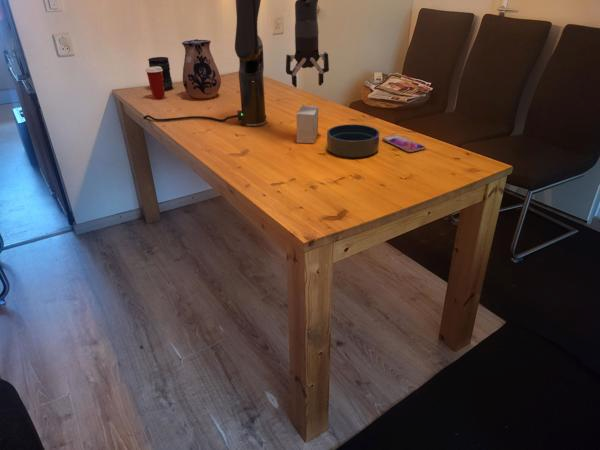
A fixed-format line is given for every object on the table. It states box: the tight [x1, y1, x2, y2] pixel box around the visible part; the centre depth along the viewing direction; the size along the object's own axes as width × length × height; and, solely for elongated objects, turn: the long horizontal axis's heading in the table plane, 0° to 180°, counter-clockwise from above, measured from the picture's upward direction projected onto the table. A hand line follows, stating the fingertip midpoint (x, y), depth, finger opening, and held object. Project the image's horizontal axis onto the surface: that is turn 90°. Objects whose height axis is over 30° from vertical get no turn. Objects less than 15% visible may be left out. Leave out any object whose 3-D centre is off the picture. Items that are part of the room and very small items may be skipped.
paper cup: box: [145, 66, 166, 101], centre depth 213 cm, size 8×8×14 cm
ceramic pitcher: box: [181, 38, 222, 100], centre depth 212 cm, size 18×21×25 cm
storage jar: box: [147, 56, 174, 92], centre depth 228 cm, size 10×10×15 cm
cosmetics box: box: [296, 105, 319, 144], centre depth 160 cm, size 10×6×10 cm, turn 170°
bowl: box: [326, 123, 381, 159], centre depth 151 cm, size 17×17×6 cm
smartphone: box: [381, 134, 426, 153], centre depth 155 cm, size 7×1×15 cm
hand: (307, 85), depth 154 cm, fingers open, 8 cm apart
